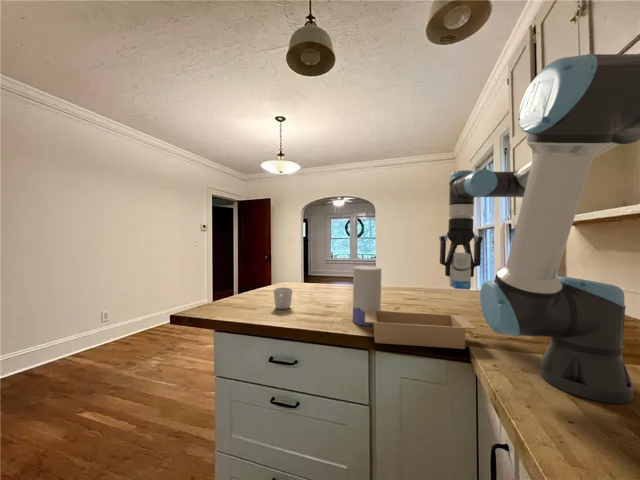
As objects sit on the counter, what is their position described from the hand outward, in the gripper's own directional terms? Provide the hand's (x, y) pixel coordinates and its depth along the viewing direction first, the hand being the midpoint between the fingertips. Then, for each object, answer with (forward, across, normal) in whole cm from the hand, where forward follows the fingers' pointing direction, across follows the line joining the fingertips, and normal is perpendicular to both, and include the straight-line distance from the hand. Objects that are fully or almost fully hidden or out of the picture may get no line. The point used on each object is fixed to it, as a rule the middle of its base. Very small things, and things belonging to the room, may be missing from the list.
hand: (458, 285), depth 98 cm
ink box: (+1, 0, 0) cm, 1 cm away
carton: (+15, +16, +11) cm, 24 cm away
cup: (+15, +66, -13) cm, 69 cm away
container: (+15, +31, -2) cm, 35 cm away
